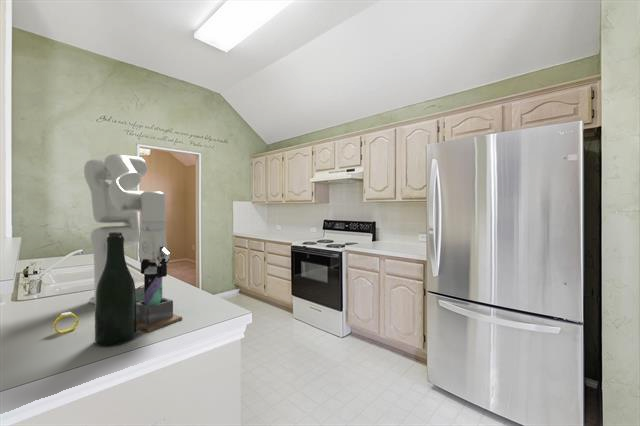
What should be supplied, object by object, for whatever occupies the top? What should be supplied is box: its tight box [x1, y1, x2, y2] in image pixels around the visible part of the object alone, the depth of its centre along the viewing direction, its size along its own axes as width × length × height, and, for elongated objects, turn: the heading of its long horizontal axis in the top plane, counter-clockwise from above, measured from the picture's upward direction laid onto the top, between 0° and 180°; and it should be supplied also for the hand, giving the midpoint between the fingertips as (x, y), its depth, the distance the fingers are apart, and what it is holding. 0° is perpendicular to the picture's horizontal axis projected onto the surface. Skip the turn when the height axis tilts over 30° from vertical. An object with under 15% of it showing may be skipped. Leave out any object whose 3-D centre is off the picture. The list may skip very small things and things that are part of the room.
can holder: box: [136, 296, 183, 333], centre depth 100 cm, size 14×12×7 cm
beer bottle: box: [94, 232, 138, 347], centre depth 87 cm, size 10×10×33 cm
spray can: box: [143, 261, 163, 306], centre depth 100 cm, size 6×6×20 cm
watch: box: [52, 311, 79, 334], centre depth 92 cm, size 6×3×6 cm, turn 141°
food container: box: [135, 285, 144, 303], centre depth 111 cm, size 12×6×10 cm, turn 168°
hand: (153, 274), depth 100 cm, fingers open, 9 cm apart
